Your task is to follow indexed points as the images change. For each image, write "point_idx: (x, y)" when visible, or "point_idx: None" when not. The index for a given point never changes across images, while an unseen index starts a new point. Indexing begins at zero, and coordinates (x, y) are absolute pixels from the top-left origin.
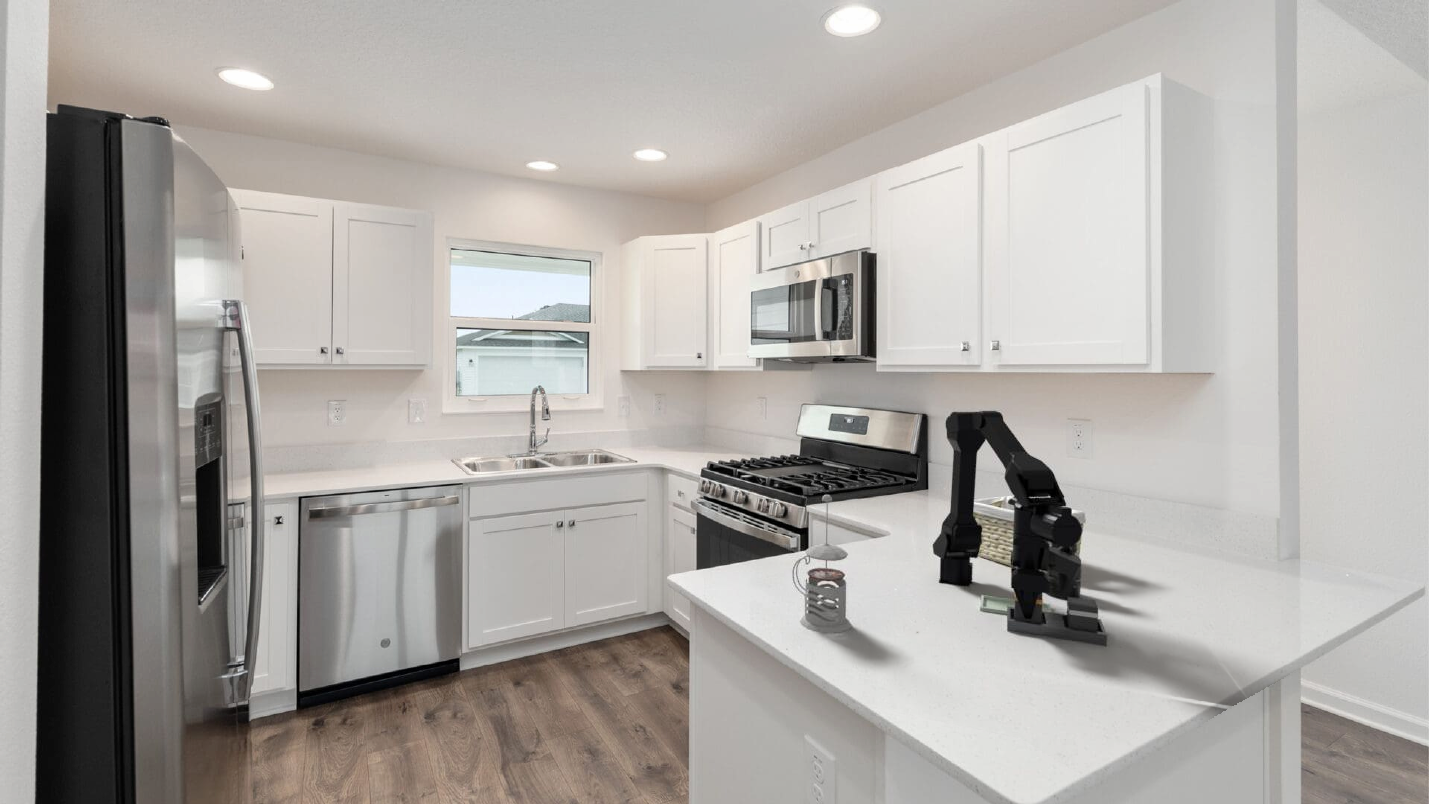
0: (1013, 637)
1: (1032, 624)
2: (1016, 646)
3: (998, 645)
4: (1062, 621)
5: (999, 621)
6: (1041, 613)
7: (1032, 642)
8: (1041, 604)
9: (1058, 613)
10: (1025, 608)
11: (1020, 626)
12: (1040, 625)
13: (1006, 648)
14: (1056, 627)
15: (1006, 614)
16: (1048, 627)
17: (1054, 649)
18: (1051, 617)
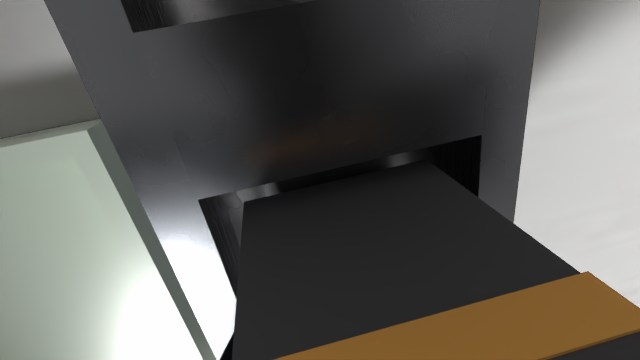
0: None
1: (509, 212)
2: (592, 205)
3: (597, 260)
4: (337, 7)
5: None
6: (494, 212)
7: (523, 158)
8: (584, 280)
9: (85, 81)
10: None
11: None
12: (519, 165)
13: (621, 230)
14: (533, 44)
15: (213, 353)
16: (519, 108)
17: (591, 33)
18: (282, 125)
